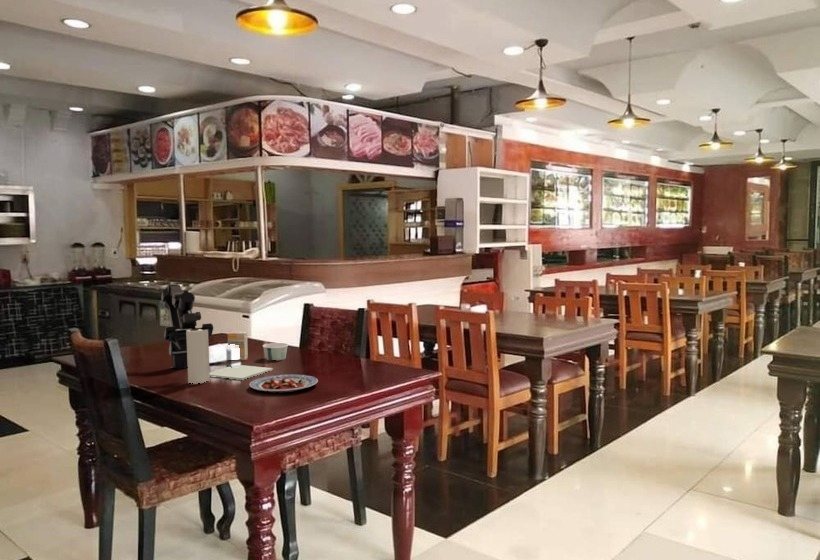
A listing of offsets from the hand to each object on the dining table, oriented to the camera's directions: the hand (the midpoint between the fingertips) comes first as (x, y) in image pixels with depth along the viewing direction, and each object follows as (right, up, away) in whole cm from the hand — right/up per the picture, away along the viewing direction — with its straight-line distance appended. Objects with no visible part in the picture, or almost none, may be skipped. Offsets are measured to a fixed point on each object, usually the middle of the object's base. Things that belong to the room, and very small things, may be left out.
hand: (192, 347), depth 250 cm
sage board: (+16, -12, +12) cm, 23 cm away
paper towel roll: (+4, -14, -4) cm, 15 cm away
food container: (+24, -10, +43) cm, 50 cm away
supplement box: (+7, -10, +41) cm, 43 cm away
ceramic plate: (+40, -14, -12) cm, 44 cm away
